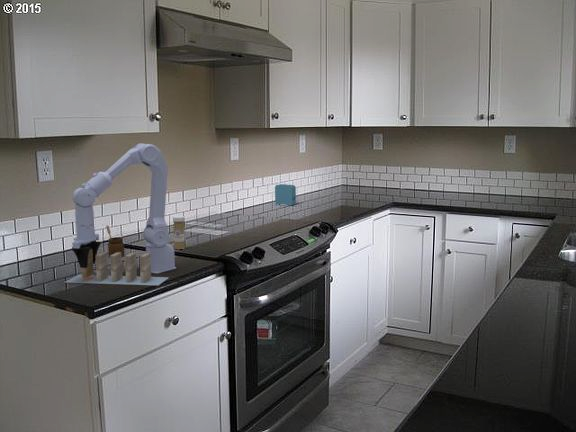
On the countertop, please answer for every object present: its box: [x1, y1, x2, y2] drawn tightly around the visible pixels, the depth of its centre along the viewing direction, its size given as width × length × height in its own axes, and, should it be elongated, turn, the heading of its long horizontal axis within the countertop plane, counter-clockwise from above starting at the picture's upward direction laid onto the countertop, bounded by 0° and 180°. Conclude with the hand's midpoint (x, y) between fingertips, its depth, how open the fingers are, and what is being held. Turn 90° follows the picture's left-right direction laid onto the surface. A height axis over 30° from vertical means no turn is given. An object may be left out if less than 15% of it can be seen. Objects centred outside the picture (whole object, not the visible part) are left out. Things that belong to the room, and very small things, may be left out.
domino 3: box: [109, 252, 124, 282], centre depth 208 cm, size 2×5×9 cm, turn 170°
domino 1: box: [81, 249, 95, 278], centre depth 209 cm, size 2×5×9 cm, turn 170°
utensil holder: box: [105, 225, 125, 258], centre depth 245 cm, size 6×6×12 cm
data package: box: [274, 183, 297, 206], centre depth 379 cm, size 12×4×12 cm, turn 58°
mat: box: [64, 274, 170, 286], centre depth 209 cm, size 32×10×1 cm, turn 80°
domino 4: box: [124, 252, 138, 282], centre depth 207 cm, size 2×5×9 cm, turn 170°
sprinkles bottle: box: [172, 215, 186, 251], centre depth 256 cm, size 5×5×13 cm
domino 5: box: [139, 252, 152, 283], centre depth 206 cm, size 2×5×9 cm, turn 170°
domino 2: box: [95, 251, 109, 281], centre depth 209 cm, size 2×5×9 cm, turn 171°
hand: (87, 265), depth 209 cm, fingers closed on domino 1, 5 cm apart
